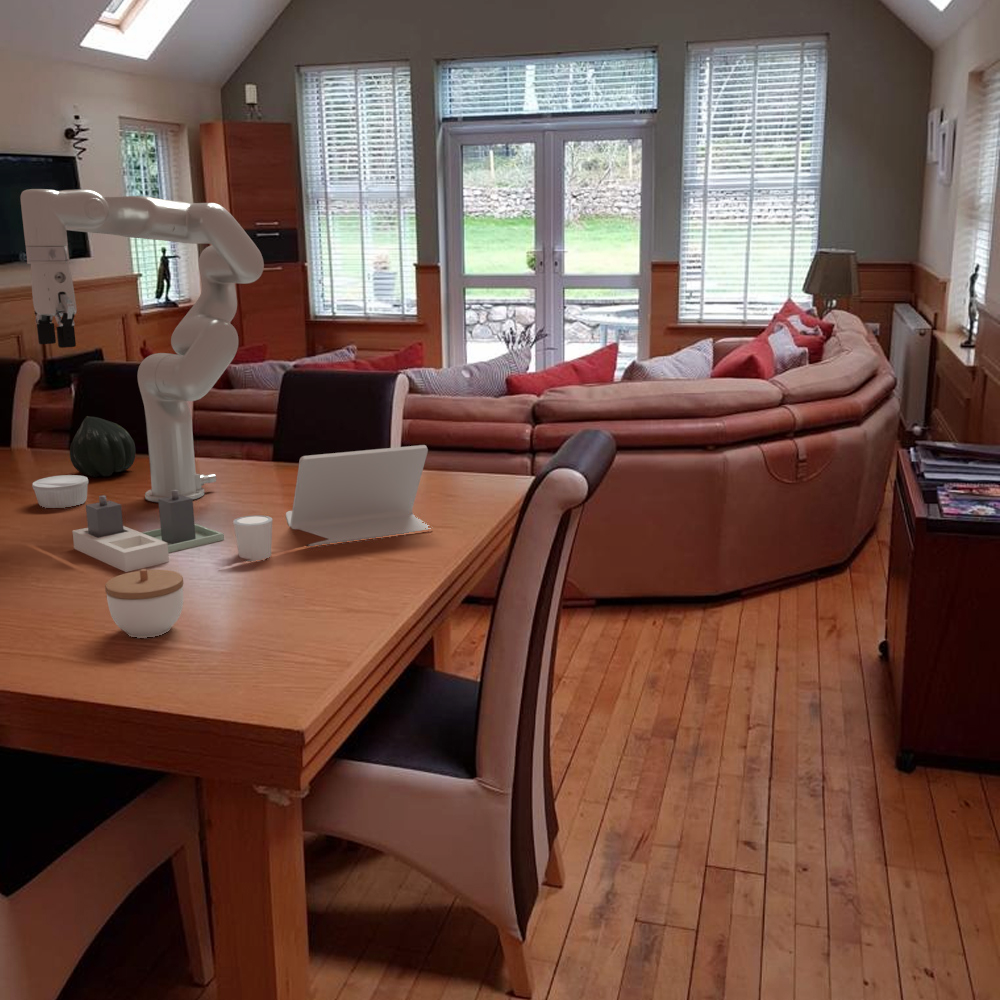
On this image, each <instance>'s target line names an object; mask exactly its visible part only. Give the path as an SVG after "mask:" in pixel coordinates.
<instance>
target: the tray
mask: <svg viewBox="0 0 1000 1000" xmlns="http://www.w3.org/2000/svg"><path fill="white" fill-rule="evenodd" d="M141 533H143V534H146V535H148V536H151V537H153V538H156V539H159V540H161V541H162V536H161V527H160V528H156V529H152V530H147V531H142V532H141ZM195 536H196V539H193V540H189V541H185V542H180V543H176V544H170V543H168V542H166V543H168V554H169V553H170V554H171V553H174V552H179V551H183V550H187V549H192V548H196V547H200V546H203V545H204V546H205V545H207V544H208V545H209V544H213V543H216V542H221V541H224V540H225V534H224V533H223V532H220V531H217V530H215V529H212V528H209V527H207V526H203V525H202V524H201V525H200V524H198V523H195ZM164 542H165V541H164Z"/></svg>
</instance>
